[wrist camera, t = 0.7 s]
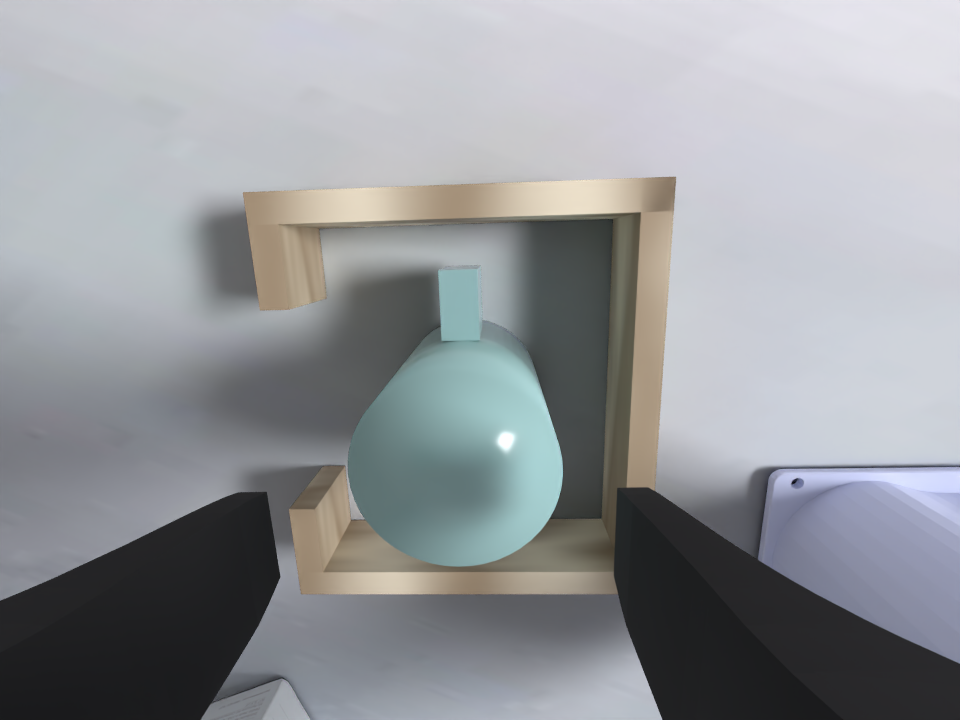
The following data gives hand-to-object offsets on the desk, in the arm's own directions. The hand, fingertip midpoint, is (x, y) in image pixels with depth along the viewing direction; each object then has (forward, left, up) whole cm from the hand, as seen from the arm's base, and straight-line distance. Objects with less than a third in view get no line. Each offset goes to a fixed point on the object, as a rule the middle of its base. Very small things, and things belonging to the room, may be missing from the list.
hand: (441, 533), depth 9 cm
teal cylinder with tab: (0, -1, -10) cm, 10 cm away
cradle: (+1, 0, -10) cm, 10 cm away
